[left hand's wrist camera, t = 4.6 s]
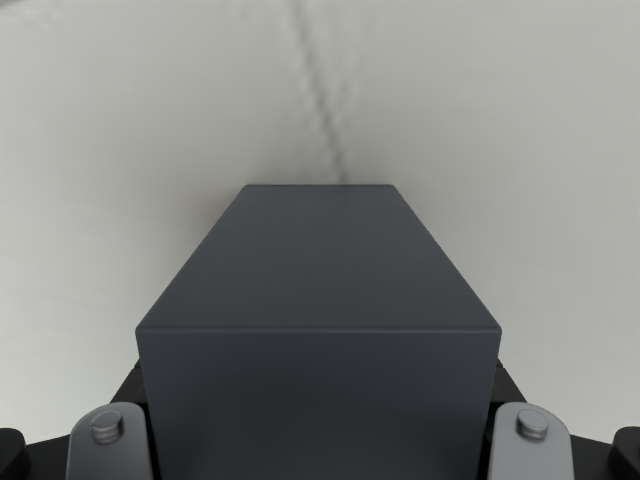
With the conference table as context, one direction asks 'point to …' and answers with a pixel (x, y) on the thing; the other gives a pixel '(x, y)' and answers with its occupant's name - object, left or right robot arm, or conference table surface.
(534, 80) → the conference table surface
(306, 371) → the box
